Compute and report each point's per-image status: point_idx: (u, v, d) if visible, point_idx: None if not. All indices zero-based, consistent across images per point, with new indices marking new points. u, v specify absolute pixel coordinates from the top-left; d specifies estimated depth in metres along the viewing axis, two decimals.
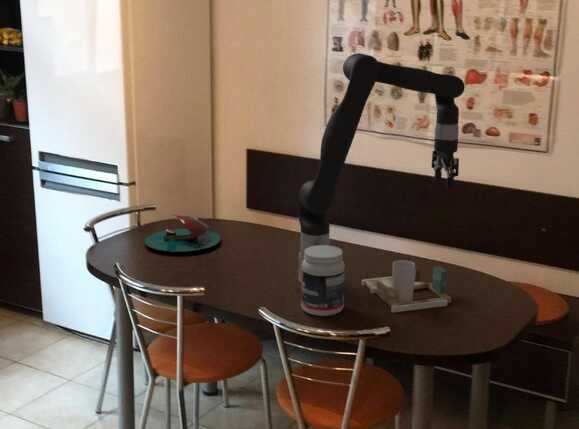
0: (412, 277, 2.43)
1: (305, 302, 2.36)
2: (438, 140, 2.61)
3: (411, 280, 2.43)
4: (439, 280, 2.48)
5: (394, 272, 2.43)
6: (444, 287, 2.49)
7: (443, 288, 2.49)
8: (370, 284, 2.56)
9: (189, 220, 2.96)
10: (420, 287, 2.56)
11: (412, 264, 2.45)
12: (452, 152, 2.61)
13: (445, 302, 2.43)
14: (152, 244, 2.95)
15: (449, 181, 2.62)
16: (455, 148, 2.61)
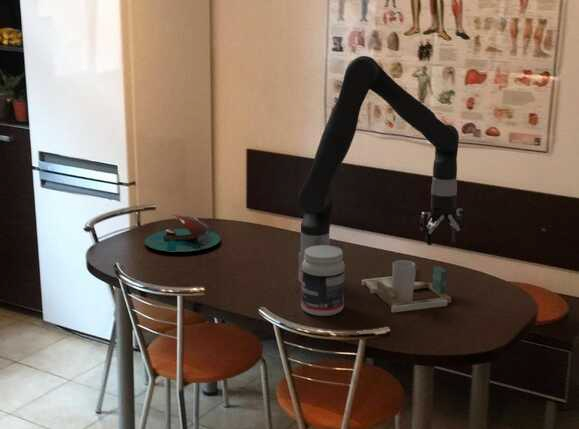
0: (412, 277, 2.43)
1: (305, 302, 2.36)
2: (453, 196, 2.40)
3: (411, 280, 2.43)
4: (439, 280, 2.48)
5: (394, 272, 2.43)
6: (444, 287, 2.49)
7: (443, 288, 2.49)
8: (370, 284, 2.56)
9: (189, 221, 2.96)
10: (420, 287, 2.56)
11: (412, 264, 2.45)
12: None
13: (445, 302, 2.43)
14: (152, 244, 2.95)
15: (457, 234, 2.47)
16: None
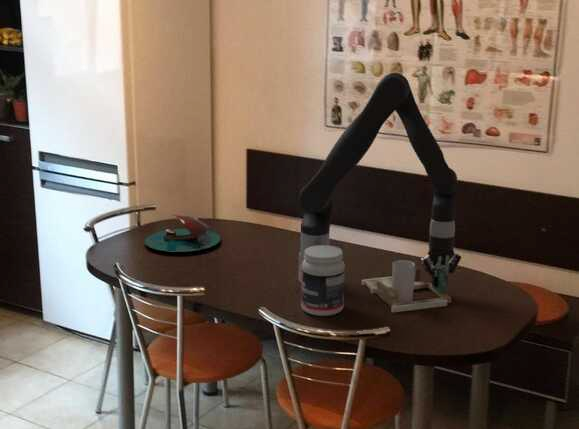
0: (412, 277, 2.43)
1: (305, 302, 2.36)
2: (451, 238, 2.44)
3: (411, 280, 2.43)
4: (439, 280, 2.48)
5: (394, 272, 2.43)
6: (444, 287, 2.49)
7: (443, 288, 2.49)
8: (370, 284, 2.56)
9: (189, 221, 2.96)
10: (420, 287, 2.56)
11: (412, 264, 2.45)
12: None
13: (445, 302, 2.43)
14: (152, 244, 2.95)
15: (446, 278, 2.50)
16: None
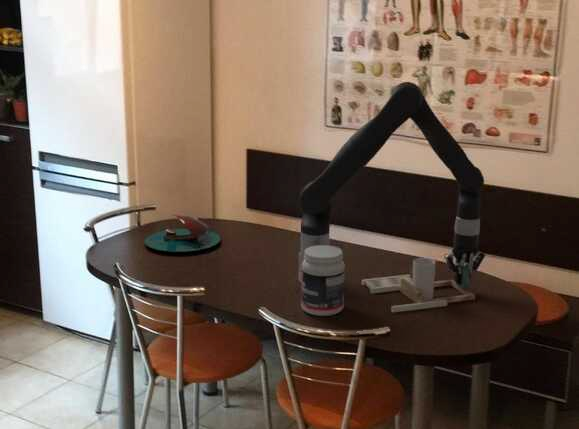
0: (433, 275, 2.45)
1: (305, 302, 2.36)
2: (476, 236, 2.46)
3: (432, 277, 2.45)
4: (463, 278, 2.51)
5: (415, 270, 2.45)
6: (468, 284, 2.51)
7: (467, 285, 2.51)
8: (370, 284, 2.56)
9: (189, 221, 2.96)
10: (443, 284, 2.59)
11: (432, 261, 2.48)
12: None
13: (445, 302, 2.43)
14: (152, 244, 2.95)
15: None
16: None
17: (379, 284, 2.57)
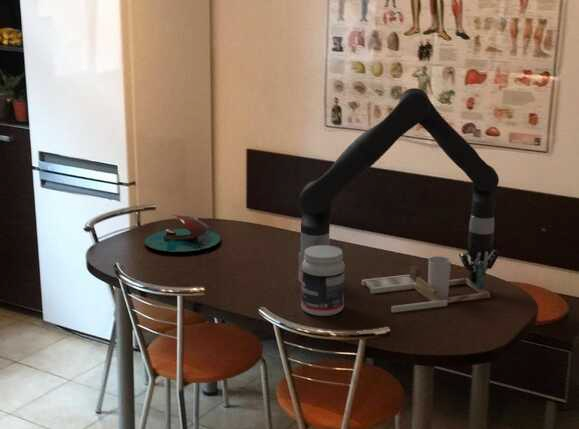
0: (449, 273, 2.47)
1: (305, 302, 2.36)
2: (490, 234, 2.47)
3: (447, 276, 2.47)
4: (477, 276, 2.52)
5: (430, 268, 2.47)
6: (482, 282, 2.53)
7: (481, 283, 2.53)
8: (370, 284, 2.56)
9: (189, 220, 2.96)
10: (458, 283, 2.60)
11: (448, 260, 2.49)
12: None
13: (445, 302, 2.43)
14: (152, 244, 2.95)
15: None
16: None
17: (379, 284, 2.57)
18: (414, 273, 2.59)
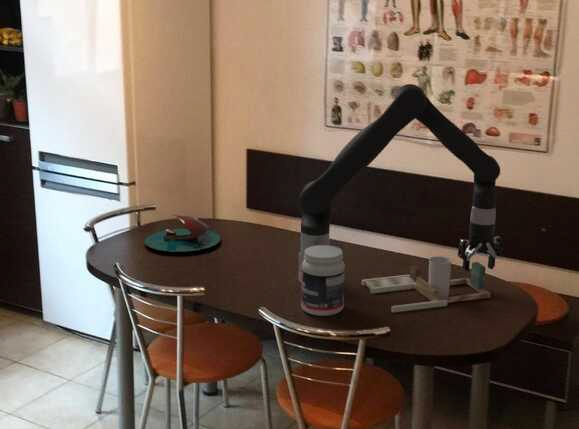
0: (449, 273, 2.47)
1: (305, 302, 2.36)
2: (492, 225, 2.47)
3: (448, 276, 2.47)
4: (478, 276, 2.52)
5: (431, 268, 2.47)
6: (483, 282, 2.53)
7: (482, 283, 2.53)
8: (370, 284, 2.56)
9: (189, 220, 2.96)
10: (458, 283, 2.60)
11: (448, 260, 2.49)
12: None
13: (445, 302, 2.43)
14: (152, 244, 2.95)
15: (494, 261, 2.54)
16: None
17: (379, 284, 2.57)
18: (414, 273, 2.59)
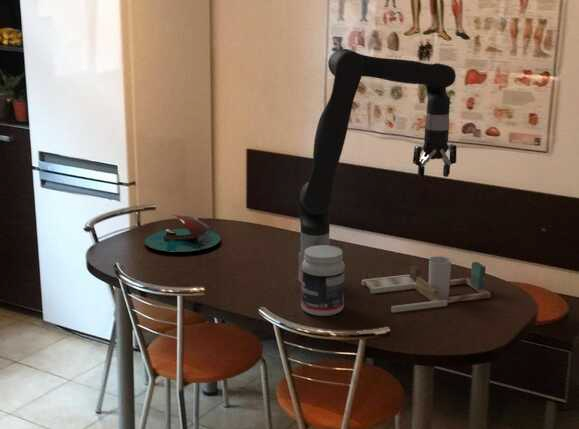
0: (449, 273, 2.47)
1: (305, 302, 2.36)
2: (445, 131, 2.54)
3: (448, 276, 2.47)
4: (478, 276, 2.52)
5: (431, 268, 2.47)
6: (483, 282, 2.53)
7: (482, 283, 2.53)
8: (370, 284, 2.56)
9: (189, 221, 2.96)
10: (458, 283, 2.60)
11: (448, 260, 2.49)
12: None
13: (445, 302, 2.43)
14: (152, 244, 2.95)
15: (448, 169, 2.61)
16: None
17: (379, 284, 2.57)
18: (414, 273, 2.59)
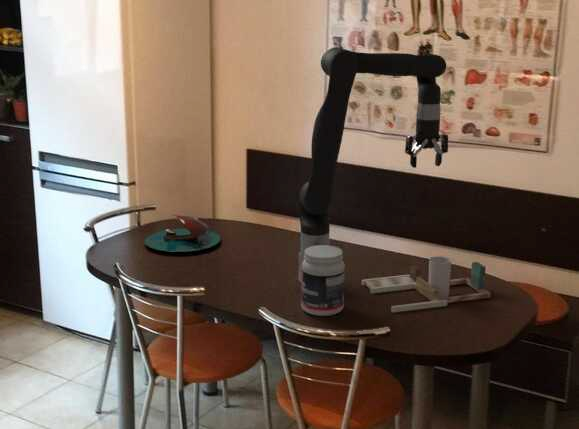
0: (449, 273, 2.47)
1: (305, 302, 2.36)
2: (436, 121, 2.56)
3: (448, 276, 2.47)
4: (478, 276, 2.52)
5: (431, 268, 2.47)
6: (483, 282, 2.53)
7: (482, 283, 2.53)
8: (370, 284, 2.56)
9: (189, 221, 2.96)
10: (458, 283, 2.60)
11: (448, 260, 2.49)
12: None
13: (445, 302, 2.43)
14: (152, 244, 2.95)
15: (440, 158, 2.63)
16: None
17: (379, 284, 2.57)
18: (414, 273, 2.59)
